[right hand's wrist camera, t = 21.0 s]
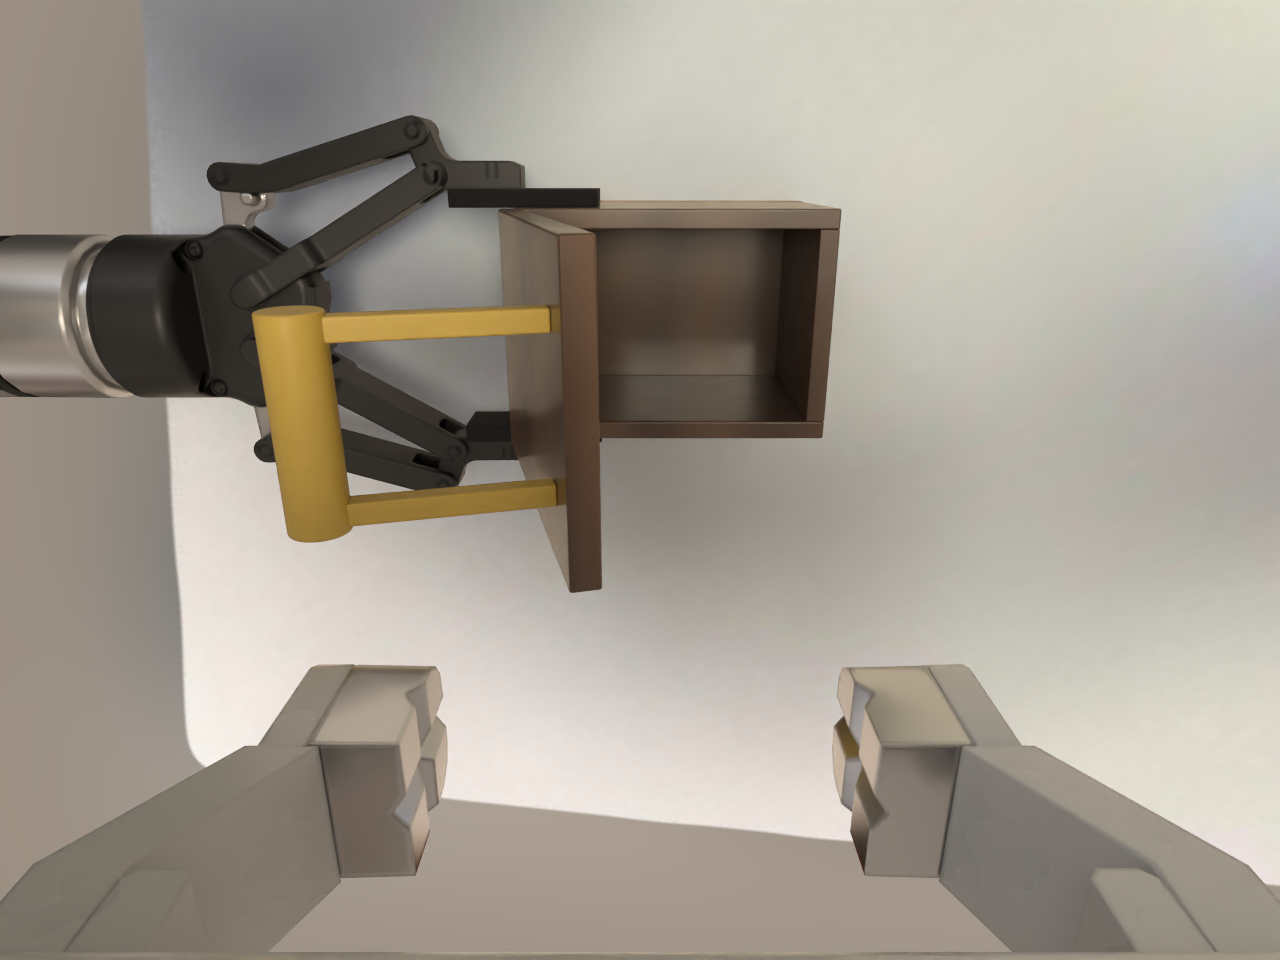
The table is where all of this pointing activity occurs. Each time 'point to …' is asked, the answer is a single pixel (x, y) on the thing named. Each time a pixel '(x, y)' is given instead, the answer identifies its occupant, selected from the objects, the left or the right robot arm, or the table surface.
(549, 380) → the door
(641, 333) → the brown wooden box
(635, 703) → the table surface
